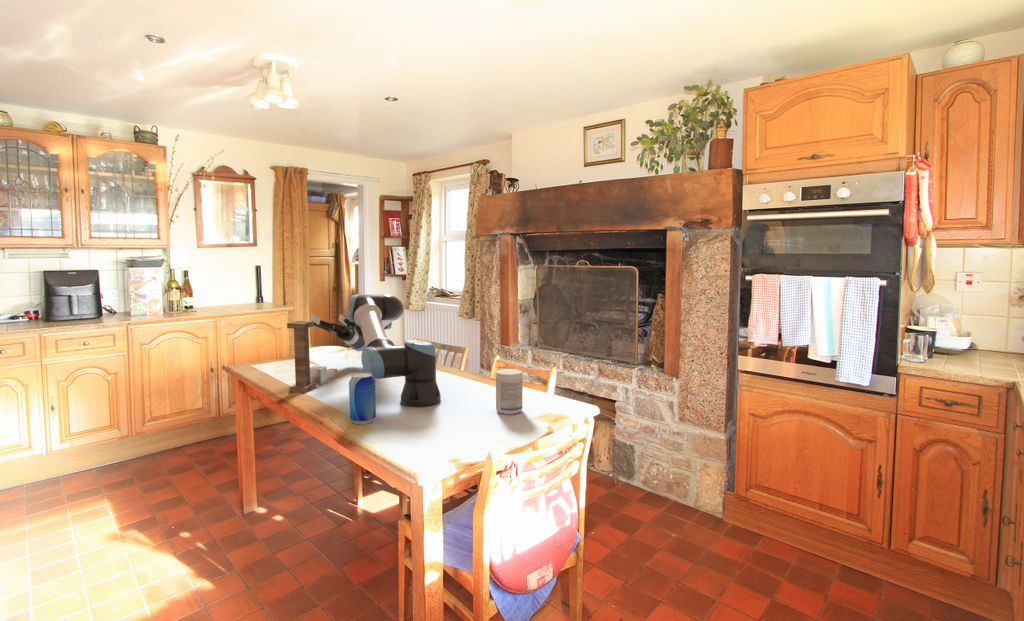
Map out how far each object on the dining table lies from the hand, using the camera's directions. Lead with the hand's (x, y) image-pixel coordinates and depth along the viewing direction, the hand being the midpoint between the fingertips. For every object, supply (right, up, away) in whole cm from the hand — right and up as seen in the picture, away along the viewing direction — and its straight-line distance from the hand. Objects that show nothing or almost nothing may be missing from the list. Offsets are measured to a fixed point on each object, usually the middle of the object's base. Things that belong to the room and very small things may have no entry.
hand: (325, 316), depth 226 cm
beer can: (+32, -35, -52) cm, 70 cm away
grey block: (-1, -28, 0) cm, 28 cm away
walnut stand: (-4, -30, -14) cm, 33 cm away
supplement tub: (+81, -34, -39) cm, 96 cm away
